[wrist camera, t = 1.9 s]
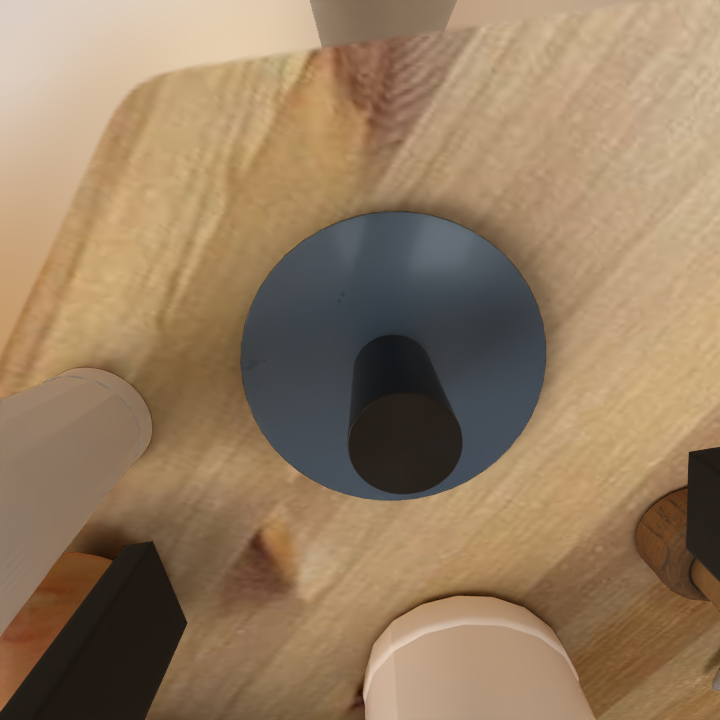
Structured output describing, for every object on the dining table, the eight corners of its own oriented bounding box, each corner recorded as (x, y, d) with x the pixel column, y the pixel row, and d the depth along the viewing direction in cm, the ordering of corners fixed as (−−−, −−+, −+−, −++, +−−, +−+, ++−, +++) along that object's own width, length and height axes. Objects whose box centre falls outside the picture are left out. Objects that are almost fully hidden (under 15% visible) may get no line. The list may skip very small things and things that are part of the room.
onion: (-4, 549, 27) (-202, 725, 18) (126, 496, 26) (-13, 656, 16) (85, 652, 30) (-45, 853, 20) (207, 609, 29) (128, 803, 19)
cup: (176, 480, 25) (22, 691, 14) (43, 480, 26) (-215, 690, 14) (154, 352, 23) (-53, 484, 12) (8, 353, 23) (-340, 483, 12)
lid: (208, 248, 21) (108, 266, 13) (525, 179, 20) (636, 151, 12) (287, 507, 26) (250, 641, 18) (547, 464, 25) (637, 587, 16)
